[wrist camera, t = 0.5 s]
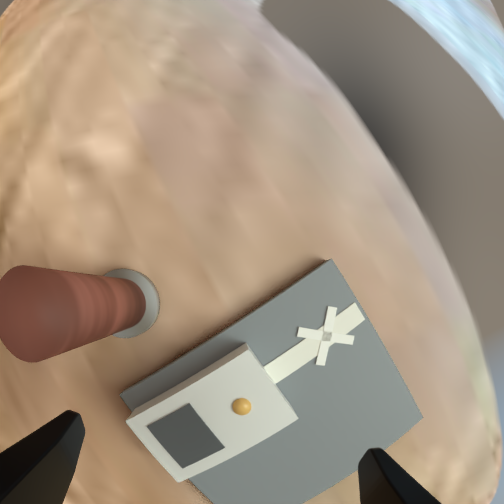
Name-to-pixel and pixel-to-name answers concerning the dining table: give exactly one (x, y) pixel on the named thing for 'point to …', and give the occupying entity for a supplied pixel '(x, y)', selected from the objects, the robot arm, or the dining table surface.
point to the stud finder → (212, 415)
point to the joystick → (71, 309)
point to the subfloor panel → (302, 392)
